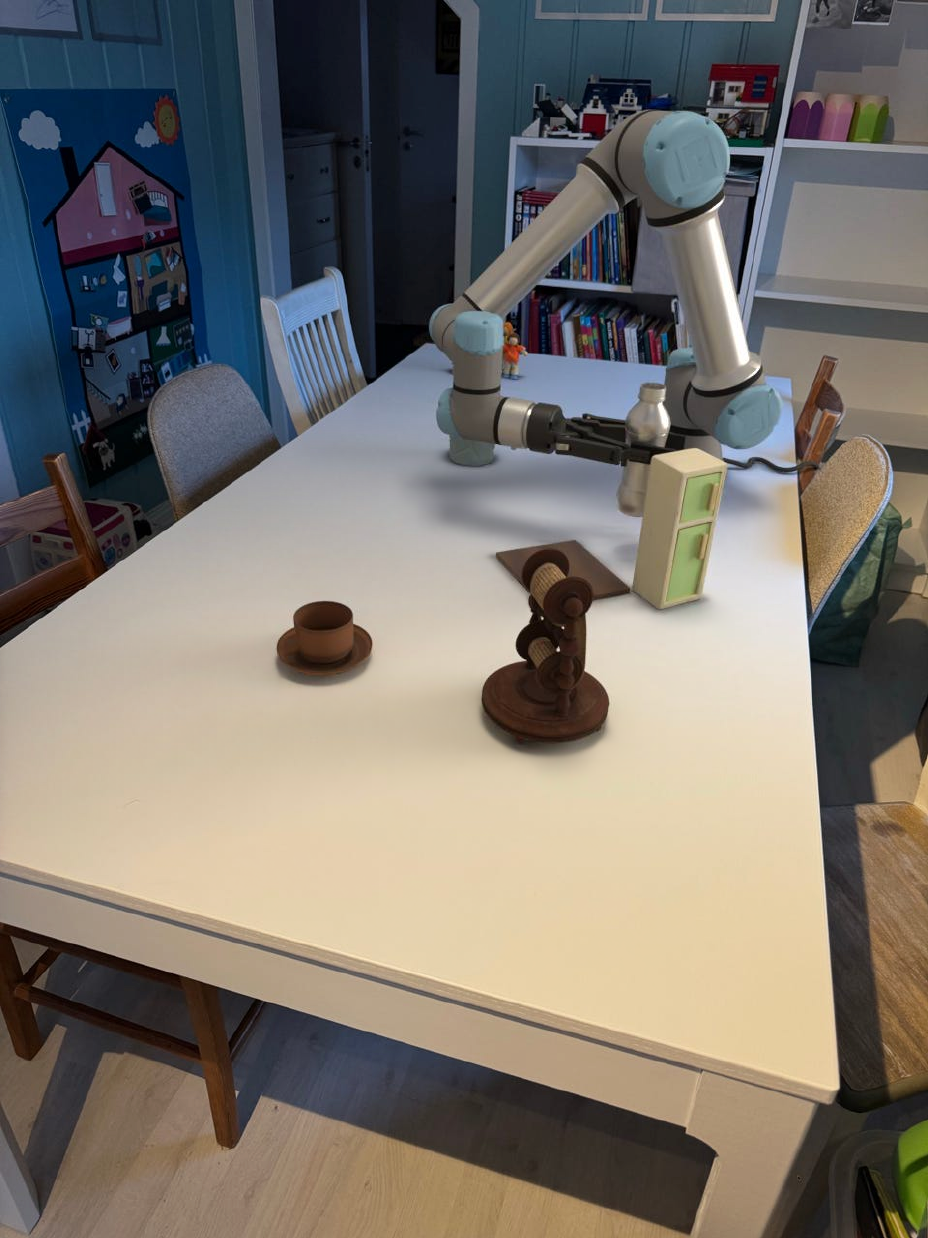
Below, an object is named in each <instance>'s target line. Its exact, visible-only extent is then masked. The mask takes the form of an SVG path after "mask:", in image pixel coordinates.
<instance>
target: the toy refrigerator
mask: <svg viewBox="0 0 928 1238" xmlns="http://www.w3.org/2000/svg"><path fill="white" fill-rule="evenodd" d="M727 471H728V463H725V462H724V461H722V460H720V459H718V458H716V457H714V456H712V455H710V454H708V453H706V452H704V451H702V450H700V449H697V448H691V449H685V450H680V451H675V452H670V453H664V454H659V455H654V456H653V457H652V459H651V464H650V470H649V477H648V484H647V491H646V498H645V505H644V512H643V517H642V519H641V526H640V533H639V540H638V546H637V552H636V559H635V565H634V573H633V579H632V580H633V581H632V586H631V587H632V588H631V589H632V591H634V593H636V594H637V595H639V597H641V598H643V600H645V601H646V602H648V603H649V604H651V605H652V606H653V607H654V608H656V609H657V610H664V609H666V608H671V607H675V606H679V605H681V604H685V603H689V602H692V601H696V600H700V599H701V598H702V596H703V591H704V586H705V581H706V575H707V570H708V566H709V565H708V564H709V560H710V555H711V550H712V545H713V540H714V534H715V531H716V526H717V521H718V520H717V519H718V515H719V510H720V506H721V500H722V496H723V491H724V485H725V480H726V476H727Z"/></svg>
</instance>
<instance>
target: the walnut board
mask: <svg viewBox="0 0 928 1238" xmlns="http://www.w3.org/2000/svg"><path fill="white" fill-rule="evenodd" d="M546 548H554V549H558V550H560V551H562V552H563V553H564V554H565V555H566V556H567V558H568V560H569V565H570V568H569V573H568V576H567V577H572V576H576V577H581V578H583V579H585V580H587V581H588V582H589V583H590V585H591V586H592V589H593V593H594V597H593V601H595V600H602V599H606V598H611V597H616V596H623V595H626V594H630V593H631V587H630V586H628V585H627V584H626V583H625V582H623V580H622V579H620V578H619V577H618V576H617V575H616V573H613V572H612V571H611V570H610V569H609V568H608V567H607V566H606V565H604V564H603V563H602V562H601V561H600V560H599V559H597V557H595V556H594V555H593V554H592V552H591V553H590V551H589V550H587V549H586V548H585V547H584V546H583V545H581V543H579V542H578V541H577V540H576V539H572V540H565V541H559V542H553V543H547V544H546V543H545V544H540V545H533V546H527V547H522V548H516V549H509V550H503V551H502V550H501V551H497V552H495V558H496V559H497V560H498V562H500V563H501V564H502V565H503V566H504V567H505V568H506V569H507V570H508V572H509V573H510V574H511V575H512V576H513V577H514V578H515V579H516V580H517V581H518V582H519V583H520V584H521V585H522V587H523V588H524V589H525V590H526V591H527V592H528V593H529V595H530V594H531V591H529V590H528V589H527V588H526V587H525V586H524V584H523V582H522V577H521V573H522V569H523V566H524V564H525V562H526V561H527V559H528V558H529V557H530V556H531V555H533V554H534V553H535V552H537V551H539V550H542V549H546Z"/></svg>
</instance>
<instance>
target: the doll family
mask: <svg viewBox="0 0 928 1238" xmlns="http://www.w3.org/2000/svg"><path fill="white" fill-rule="evenodd" d="M503 337H504V345H503V353H502V369H501V374H503V375H502V378H503V379H510V380H518V378H519V377H518V375H519V367H520V365H519V363H520V355H521V356H522V355H523V356H524V357H527V356H528V352H527V351H526V347H525V346H523V345H519V344H520V342H521V340H520V339H521V338H520V335H519V334H518V333H516V332H514V328H513V325H512V324H511V322H509V321H507V322H505V321H504V322H503ZM449 364H451V365H453V362H452V361H451V360H450V361H449ZM451 374H453V370H451Z"/></svg>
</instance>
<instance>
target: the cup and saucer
mask: <svg viewBox="0 0 928 1238" xmlns="http://www.w3.org/2000/svg"><path fill="white" fill-rule="evenodd" d="M292 621H293V622H292V623H293V627H290V628H289V629H288V630H286V631H285V632H284V633H283V634H282V635H280V637H279V638H278V640H277V643H276V649H275V650H276V653H277V656H278V658H279V660H280V661H281V662H282V663H283V664H284V665H285V666H286V667H288V668H290V669H291V670H293V671H295V672H298V673H302V674H304V675H311V676H333V675H338V674H342V673H345V672H349V671H351V670H353V669H355V668H357V667H358V666H359V665H361V664H363V663H364V662H365V661H366V660H367V659H368V658H369V657H370V654H371V652H372V650H373V643H374V642H373V639H372V636H371V634H370V633H369V632H368V631H367V630H366V629H365V628H363V627H362V626H360V625H357V624H356V623H354V612H353V610H352V609H351V608H350V606H348V605H346V604H344V603H342V602H338V601H332V600H317V601H313V602H308V603H306V604H303V605H301V606H300V607H298V608H297V609H296V610H295V611H294V612H293V615H292Z"/></svg>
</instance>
